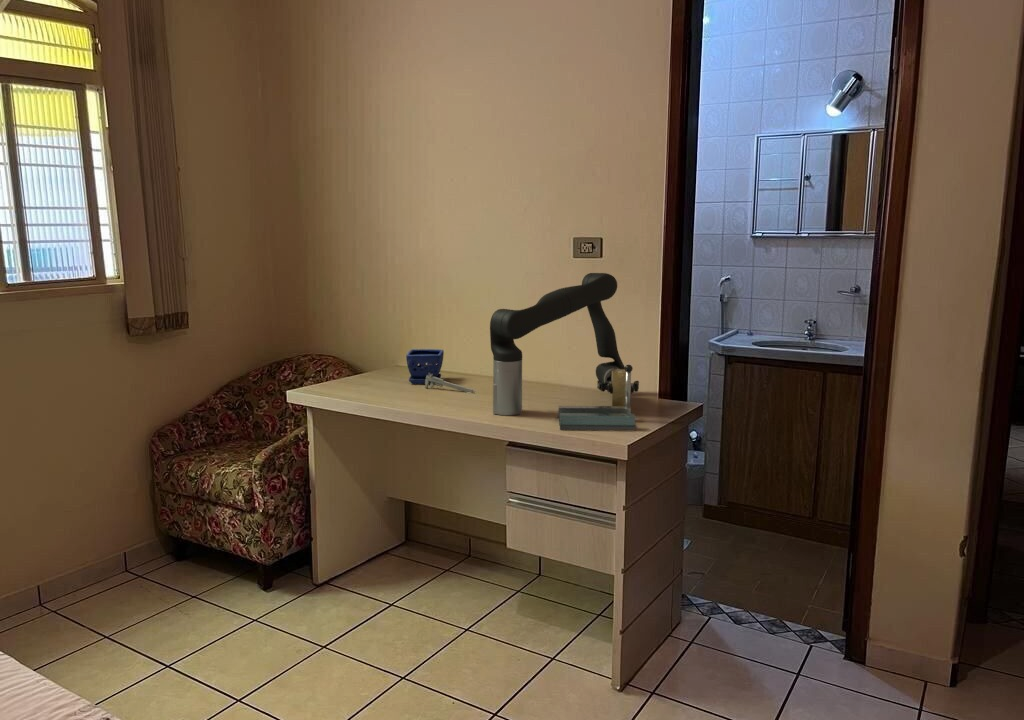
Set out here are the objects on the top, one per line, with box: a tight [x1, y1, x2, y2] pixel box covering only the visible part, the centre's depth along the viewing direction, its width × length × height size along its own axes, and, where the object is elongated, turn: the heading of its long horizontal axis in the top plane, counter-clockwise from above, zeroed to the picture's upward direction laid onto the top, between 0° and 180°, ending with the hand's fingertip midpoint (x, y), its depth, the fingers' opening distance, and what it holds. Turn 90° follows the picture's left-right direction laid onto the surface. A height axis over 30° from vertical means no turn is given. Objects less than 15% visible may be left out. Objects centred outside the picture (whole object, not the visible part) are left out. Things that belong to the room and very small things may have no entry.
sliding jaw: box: [557, 364, 633, 417], centre depth 243 cm, size 4×22×16 cm, turn 89°
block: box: [610, 369, 626, 406], centre depth 252 cm, size 4×6×14 cm
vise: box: [557, 413, 636, 431], centre depth 239 cm, size 16×22×4 cm
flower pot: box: [405, 348, 445, 385], centre depth 303 cm, size 13×13×12 cm
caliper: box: [424, 373, 476, 394], centre depth 287 cm, size 20×1×6 cm, turn 67°
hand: (621, 390), depth 249 cm, fingers closed on block, 5 cm apart
